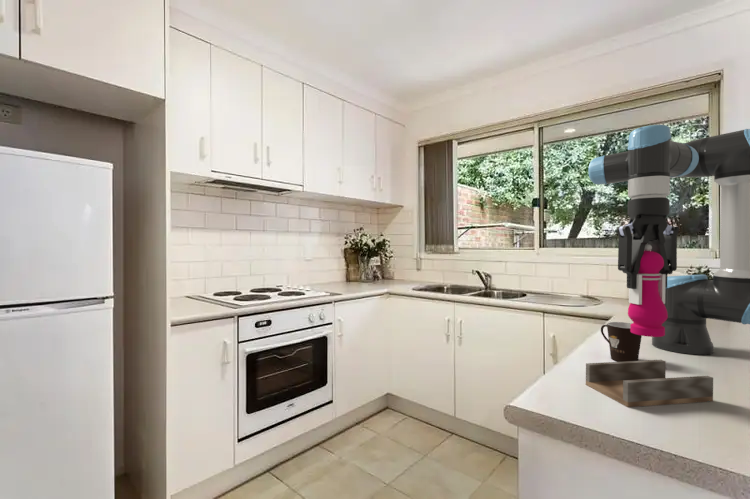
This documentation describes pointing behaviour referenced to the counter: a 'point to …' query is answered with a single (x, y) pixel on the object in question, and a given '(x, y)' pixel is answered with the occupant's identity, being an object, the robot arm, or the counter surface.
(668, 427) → the counter surface
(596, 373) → the rail track
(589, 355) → the counter surface
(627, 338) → the coffee mug
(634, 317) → the pepper mill
